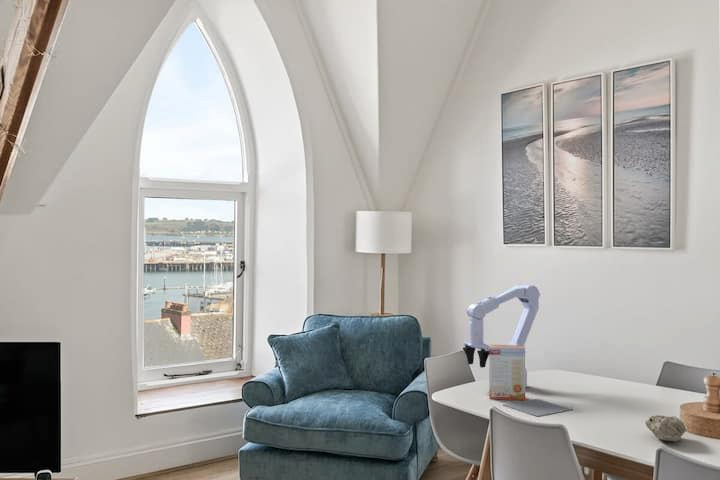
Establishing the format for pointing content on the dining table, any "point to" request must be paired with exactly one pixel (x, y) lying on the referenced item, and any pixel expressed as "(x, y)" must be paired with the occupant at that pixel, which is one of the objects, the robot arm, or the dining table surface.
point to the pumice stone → (666, 427)
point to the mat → (537, 407)
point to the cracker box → (507, 372)
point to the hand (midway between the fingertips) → (476, 365)
